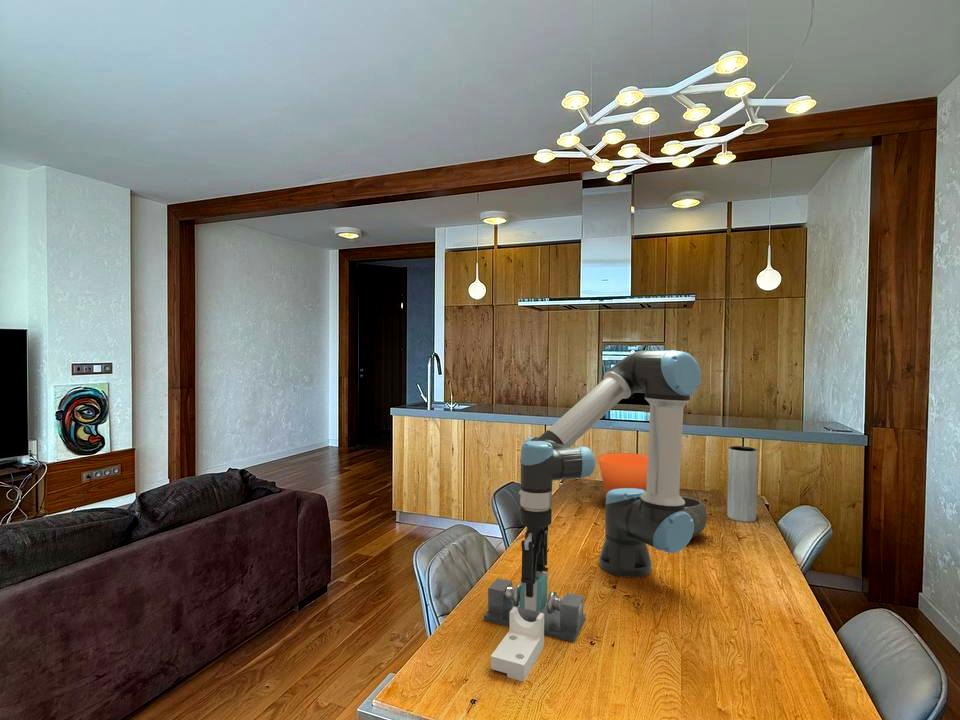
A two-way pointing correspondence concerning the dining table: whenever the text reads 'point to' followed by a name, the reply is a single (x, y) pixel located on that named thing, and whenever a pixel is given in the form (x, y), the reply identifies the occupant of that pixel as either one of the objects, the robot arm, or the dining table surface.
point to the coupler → (541, 590)
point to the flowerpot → (623, 470)
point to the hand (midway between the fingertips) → (534, 603)
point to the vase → (742, 483)
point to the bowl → (696, 514)
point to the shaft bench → (558, 613)
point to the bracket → (519, 646)
